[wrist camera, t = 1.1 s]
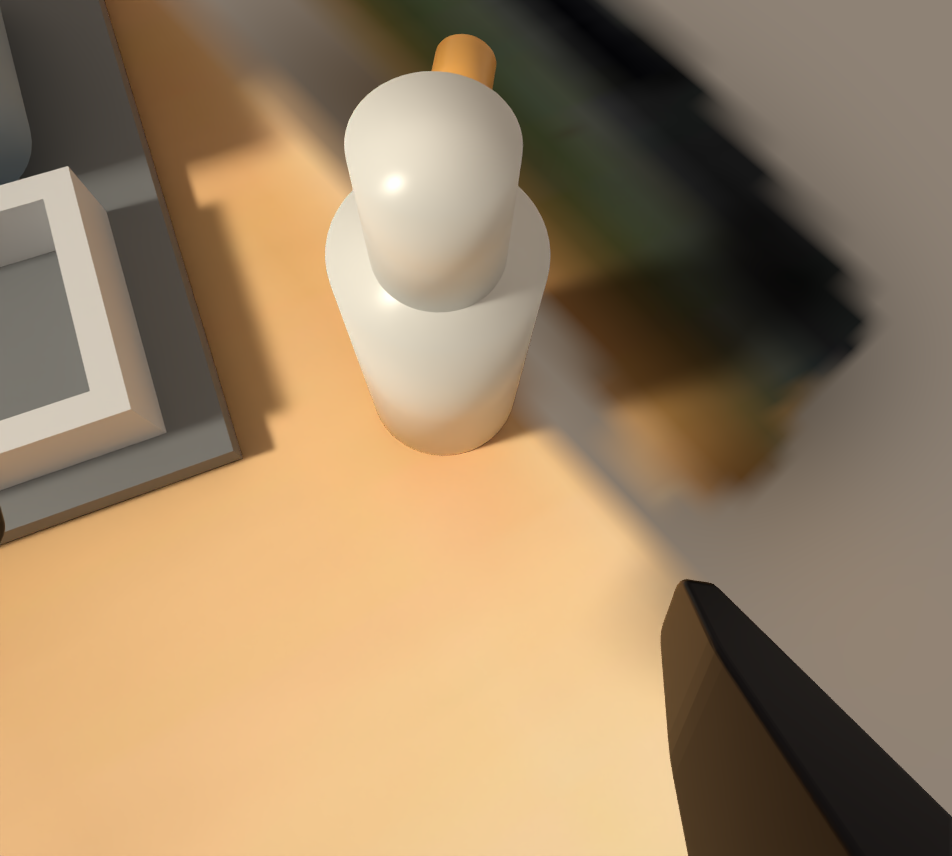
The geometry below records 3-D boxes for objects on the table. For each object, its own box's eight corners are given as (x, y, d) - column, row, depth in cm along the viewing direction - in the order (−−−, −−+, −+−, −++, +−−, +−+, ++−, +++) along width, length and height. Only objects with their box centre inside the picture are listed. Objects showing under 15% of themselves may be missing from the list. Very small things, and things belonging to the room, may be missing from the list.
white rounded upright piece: (505, 465, 23) (561, 291, 11) (359, 443, 23) (256, 245, 11) (528, 299, 25) (597, -5, 13) (393, 279, 25) (337, -42, 13)
